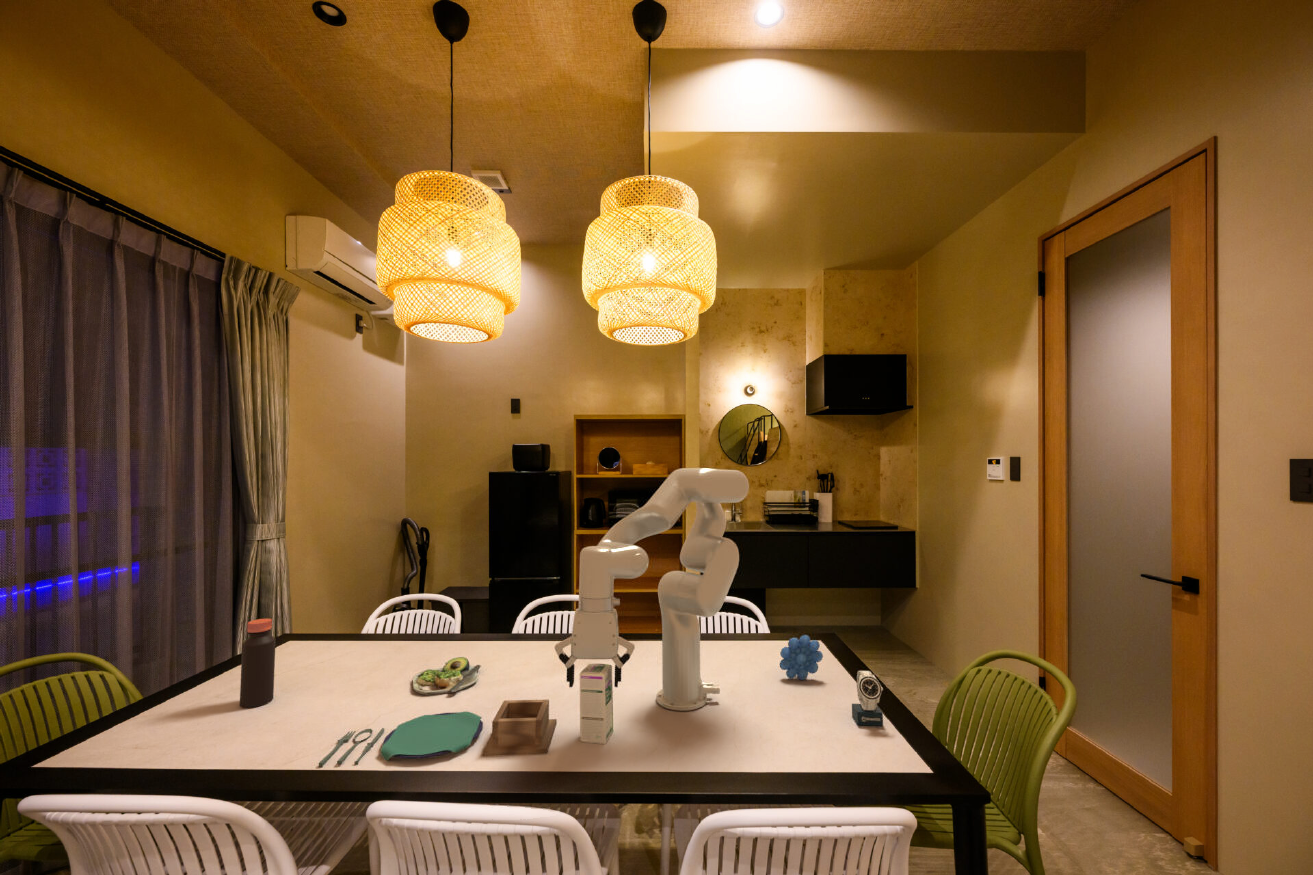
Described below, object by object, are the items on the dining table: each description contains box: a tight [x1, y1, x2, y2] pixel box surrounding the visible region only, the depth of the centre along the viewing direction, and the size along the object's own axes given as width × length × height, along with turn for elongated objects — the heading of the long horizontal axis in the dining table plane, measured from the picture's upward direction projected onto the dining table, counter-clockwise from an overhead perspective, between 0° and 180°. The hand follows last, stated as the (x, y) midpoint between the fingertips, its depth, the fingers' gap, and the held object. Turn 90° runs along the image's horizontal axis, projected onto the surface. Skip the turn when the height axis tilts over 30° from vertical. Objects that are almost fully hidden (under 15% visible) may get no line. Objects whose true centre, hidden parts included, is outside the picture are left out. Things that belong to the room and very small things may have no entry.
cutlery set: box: [318, 710, 484, 768], centre depth 113 cm, size 20×30×2 cm, turn 98°
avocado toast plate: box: [412, 656, 482, 696], centre depth 144 cm, size 19×18×5 cm
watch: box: [851, 670, 884, 728], centre depth 121 cm, size 6×8×11 cm
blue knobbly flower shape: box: [779, 634, 824, 681], centre depth 146 cm, size 12×7×12 cm, turn 84°
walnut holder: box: [481, 698, 557, 757], centre depth 114 cm, size 13×13×6 cm
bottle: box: [239, 618, 276, 709], centre depth 133 cm, size 7×7×20 cm
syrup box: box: [579, 663, 614, 745], centre depth 115 cm, size 6×6×14 cm
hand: (593, 684), depth 115 cm, fingers open, 9 cm apart
